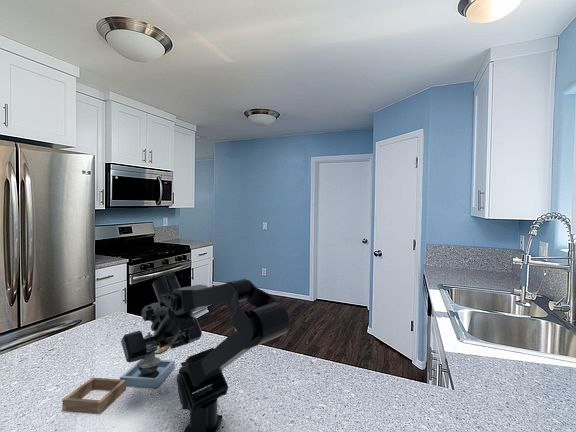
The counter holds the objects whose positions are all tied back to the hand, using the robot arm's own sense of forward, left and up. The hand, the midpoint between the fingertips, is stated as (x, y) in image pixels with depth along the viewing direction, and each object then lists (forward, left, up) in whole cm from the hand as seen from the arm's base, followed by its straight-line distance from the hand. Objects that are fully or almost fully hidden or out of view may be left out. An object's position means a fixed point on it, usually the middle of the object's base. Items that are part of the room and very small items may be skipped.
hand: (154, 352), depth 81 cm
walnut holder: (-9, +10, -8) cm, 15 cm away
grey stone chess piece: (+2, +3, -7) cm, 8 cm away
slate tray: (+2, +3, -8) cm, 8 cm away
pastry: (+19, +9, -8) cm, 22 cm away
